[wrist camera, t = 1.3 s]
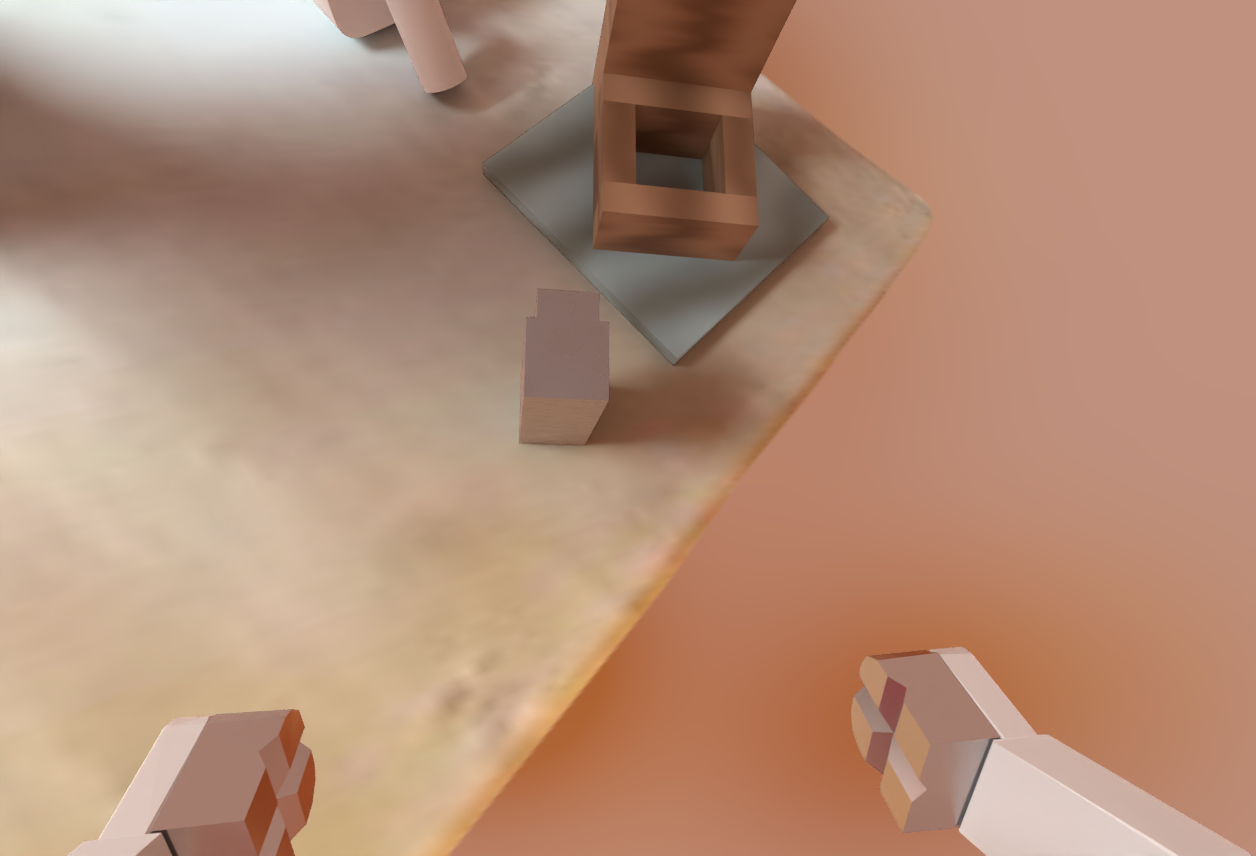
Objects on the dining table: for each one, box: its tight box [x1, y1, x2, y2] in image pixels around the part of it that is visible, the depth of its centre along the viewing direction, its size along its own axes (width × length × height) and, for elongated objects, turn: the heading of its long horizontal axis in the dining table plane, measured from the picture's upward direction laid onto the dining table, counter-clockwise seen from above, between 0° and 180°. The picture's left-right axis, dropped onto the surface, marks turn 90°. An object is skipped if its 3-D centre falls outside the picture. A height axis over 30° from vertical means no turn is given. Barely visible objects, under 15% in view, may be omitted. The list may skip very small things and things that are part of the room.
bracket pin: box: [519, 289, 609, 445], centre depth 37 cm, size 4×6×10 cm
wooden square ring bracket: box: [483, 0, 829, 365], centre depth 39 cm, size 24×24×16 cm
